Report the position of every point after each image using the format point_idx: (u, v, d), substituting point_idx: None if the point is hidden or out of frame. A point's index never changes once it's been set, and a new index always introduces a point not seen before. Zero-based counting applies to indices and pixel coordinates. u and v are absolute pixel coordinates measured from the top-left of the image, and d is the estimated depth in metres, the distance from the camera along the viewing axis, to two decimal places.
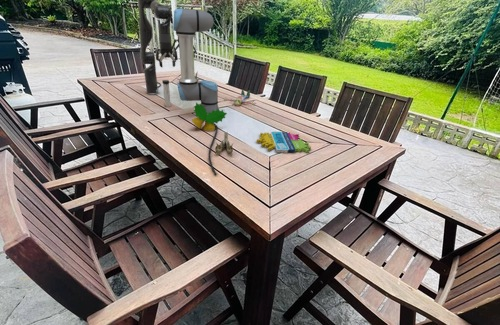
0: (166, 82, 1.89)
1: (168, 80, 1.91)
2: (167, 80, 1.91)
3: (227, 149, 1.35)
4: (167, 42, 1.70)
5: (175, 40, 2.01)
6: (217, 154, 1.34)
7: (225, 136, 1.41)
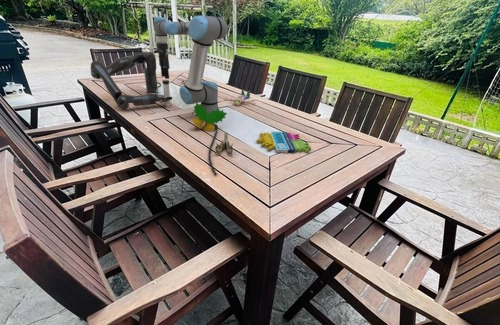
0: (166, 82, 1.89)
1: (168, 80, 1.91)
2: (167, 80, 1.91)
3: (227, 149, 1.35)
4: None
5: (158, 52, 1.84)
6: (217, 154, 1.34)
7: (225, 136, 1.41)
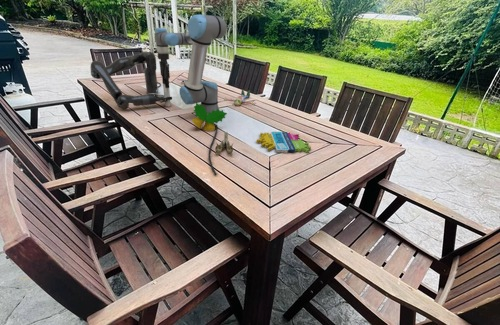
0: None
1: None
2: None
3: (227, 149, 1.35)
4: None
5: (159, 62, 1.88)
6: (217, 154, 1.34)
7: (225, 136, 1.41)
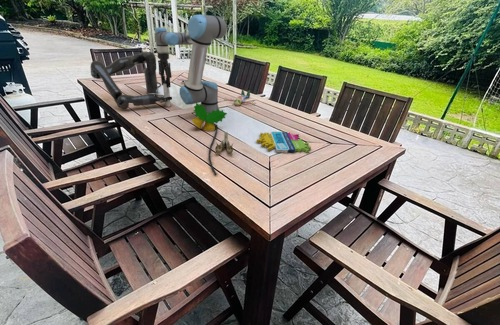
0: None
1: None
2: None
3: (227, 149, 1.35)
4: None
5: (158, 61, 1.87)
6: (217, 154, 1.34)
7: (225, 136, 1.41)
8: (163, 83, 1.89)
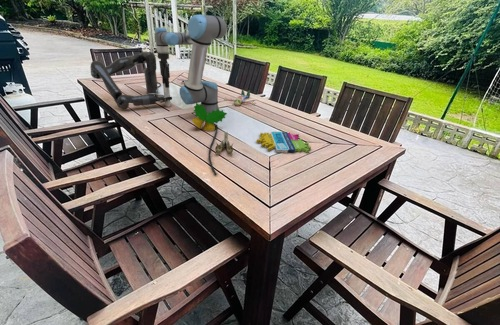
0: None
1: None
2: None
3: (227, 149, 1.35)
4: None
5: (159, 61, 1.87)
6: (217, 154, 1.34)
7: (225, 136, 1.41)
8: (163, 83, 1.89)
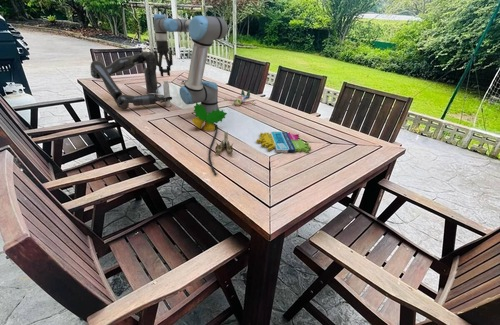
0: None
1: None
2: (163, 69, 1.85)
3: (227, 149, 1.35)
4: None
5: (156, 51, 1.76)
6: (217, 154, 1.34)
7: (225, 136, 1.41)
8: (167, 72, 1.86)
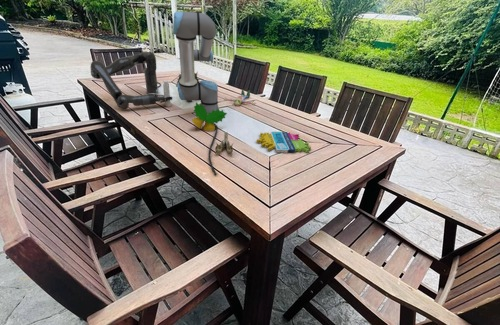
0: None
1: None
2: None
3: (227, 149, 1.35)
4: None
5: None
6: (217, 154, 1.34)
7: (225, 136, 1.41)
8: (191, 101, 2.11)
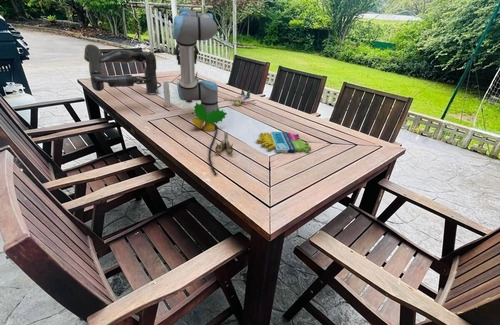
0: None
1: None
2: None
3: (227, 149, 1.35)
4: None
5: None
6: (217, 154, 1.34)
7: (225, 136, 1.41)
8: (191, 101, 2.11)
